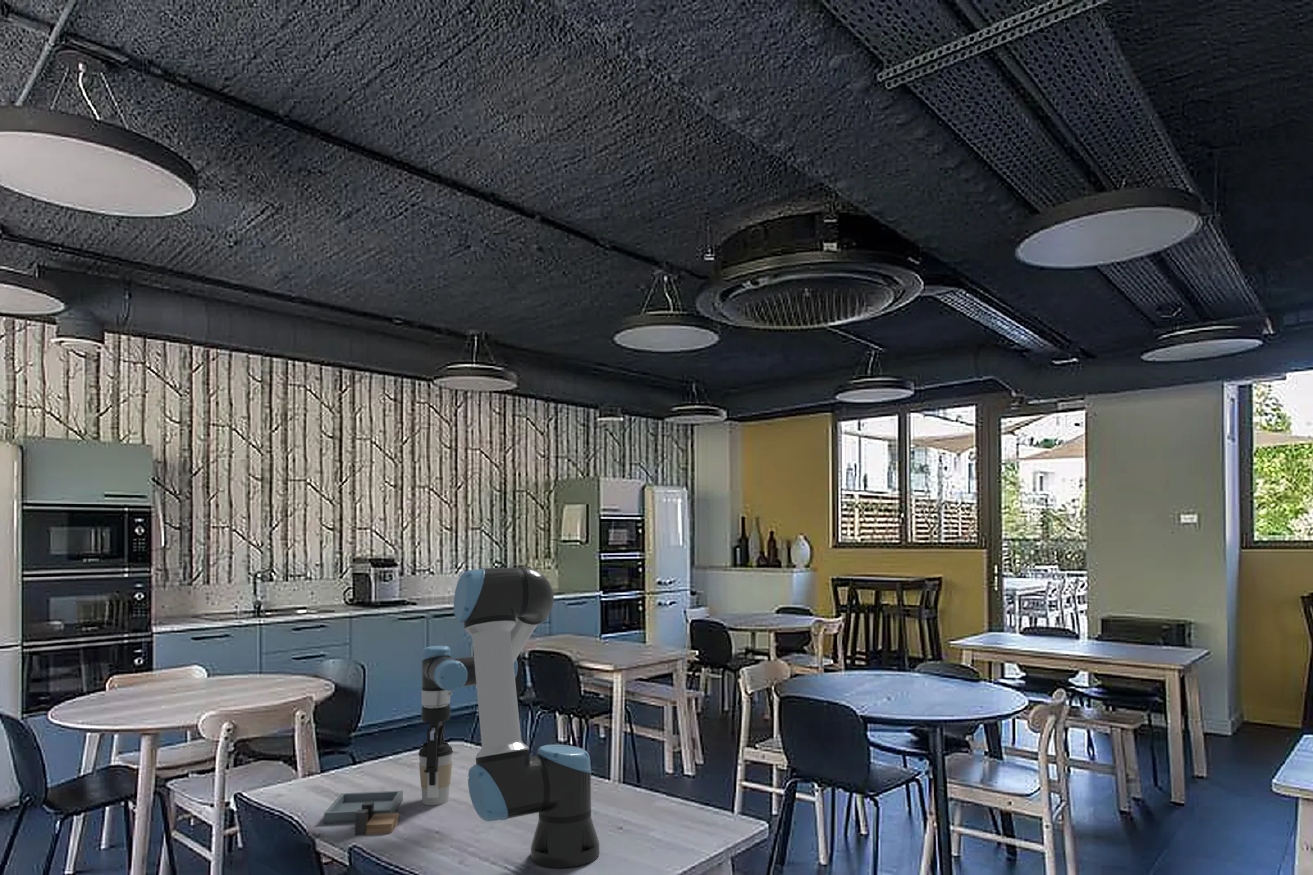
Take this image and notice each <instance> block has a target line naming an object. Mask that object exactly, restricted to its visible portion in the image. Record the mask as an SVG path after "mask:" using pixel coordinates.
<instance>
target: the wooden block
mask: <svg viewBox="0 0 1313 875" xmlns="http://www.w3.org/2000/svg"><path fill="white" fill-rule="evenodd" d="M399 815H400V814H399V812H395V813H382V814H374V815H373V816H372V818H371V819H370V820H369V822H368V823H367V825H366V834H365V835H374V834H375V835H376V834H392V833H393V831H394V830H395V829H396V826H397V825H398V823H399V820H400V819H399Z"/></svg>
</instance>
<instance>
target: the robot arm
mask: <svg viewBox="0 0 1313 875" xmlns="http://www.w3.org/2000/svg"><path fill="white" fill-rule="evenodd" d="M454 590H455V591H454V595H453V596H454V597H453V614H454V617H455V620H456V621H457V622H459V623H463V624H464V632H466V633H467V634H468V635H469V636H470V637H471V638H472V639H471V640H472V648H473V655H472V656H465V657H464V656H462V657H454V658H452V654H451V653H452V651H451V648H450V647H449V646H448V645H431V646H427V647H424V648H423V649H422V653H421V654H422V655H421V660H420V661H421V705H422V706H421V720H422V722H424V723H429V726H428V728H427V731H426V741H427V763H426V770H424V772H425V773H427V798H436V797H438V750H439V746H440V745H441V743H442V742H445V724H446V721H449V720H450V719H451V705H450V703H451V696H453V692H454V691H458V690H459V689H461V688H465V687H474V686H476V694H477V706H478V717H479V727H480V728H479V729H480V739H481V740H480V742H481V748H480V750H479V751H478V753H477V754H476V756H475V764H474V765H472V766H471V767H470V768H469V770H468V775H467V776H468V779H467V785H468V793H469V796H470V799H471V800H470V801H471V803H472V806H473V808H474V811H475V812H476V814H477V815H478V817H479V818H480V819H481V820H482V821H485V822H496V821H506V820H508V819H513V818H517V817H522V816H528V815H533V814H538V820H537V821H538V822H537V825H536V827H535V828H536V829H535V832H534V835H533V838H532V841H531V845H530V859H531V861H532V862H533V863H534V864H537V865H539V866H543V867H546V868H553V869H554V868H555V869H557V868H558V869H561V868H562V869H565V868H574V867H573V866H575V867H578V866H577V865H580V866H584V865H586V864H585V863H587V864H589V863H591V862H593V861H595V860H596V859H597V858H598V857H599V856H598V855H600V840H599V837H598V835H597V832H596V831H597V830H596V828H595V825H594V822H593V819H592V768H591V758H590V754H589V753H588V751H587V750H586V749H584V748H582V747H578V746H574V745H567V744H545V745H544V744H543V745H542V746H540V747H539V748H538V750H537V752H536V754H537V755H534V756H531V754H530V753H531V752H530V747H529V746H528V745H526V744H525V743H524V742H523V741H522V732H521V725H520V712H519V705H518V704H519V703H518V695H517V686H516V677H517V675H518V671H519V670H518V669H519V665H518V660H517V658H518V657H519V655H520V654H521V652H522V650H523V649H524V647H525V645H526V644H527V642H528V641H529V639H530V638H531V636H532V635H533V632H534V631H535V630H536V628H537V626H538V625H541V624H542V623H544V622H545V621H546V620H547V618H548V617H549V615H550V614H551V612H552V609H553V607H554V601H555V600H554V591H553V588H552V585H551V583H550V581H549V580H548V579H547V578H546V577H545V575H543V574H542V572H540V571H538V570H536V569H534V568H532V567H527V566H519V567H518V566H517V567H487V568H486V567H485V568H484V567H481V568H477V569H470V570H465V571H464V572H462V573H461V575H460V576H459V579H458V581H457V582H456V586H455V589H454ZM430 766H433V767H430ZM597 856H598V857H597ZM596 857H597V858H596ZM595 858H596V859H595ZM594 859H595V860H594ZM590 861H591V862H590ZM588 862H589V863H588ZM583 864H584V865H583Z"/></svg>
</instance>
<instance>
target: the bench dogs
mask: <svg viewBox="0 0 1313 875" xmlns="http://www.w3.org/2000/svg"><path fill="white" fill-rule="evenodd" d="M373 815H374V802H364V803H363V804H362V810H358V811H357V812H356V820H355V822H354V823H355V825H354V826H355V828H354V831H355V834H354V835H356V836H357V835H358V836H359V835H367V834H366V825H367V823H368V822H369V820H370V819H371V818H372V816H373Z"/></svg>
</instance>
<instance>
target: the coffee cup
mask: <svg viewBox="0 0 1313 875" xmlns="http://www.w3.org/2000/svg"><path fill="white" fill-rule="evenodd" d="M453 753H454V750H453V747H452V746H451V745H450V743H449V742H446V741H444V742H442V743H441V745H440V746H439V750H438V797H436V798H427V773H425V772H424V770H426V763H427V742H423V744H422V747H421V748H420V749H419V752H418V757H419V758H418V759H419V763H418V764H419V766H418V767H419V777H420V787H421V800H422V801H421V802H422V804H423V805H426V806H437V805H438V806H439V805H443V804H446V803H447V802H449V798H450V797H449V796H450V787H451V786H450V785H451V782H452V781H451V779H452V769H453V760H452V759H453ZM430 767H433V766H430Z"/></svg>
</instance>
